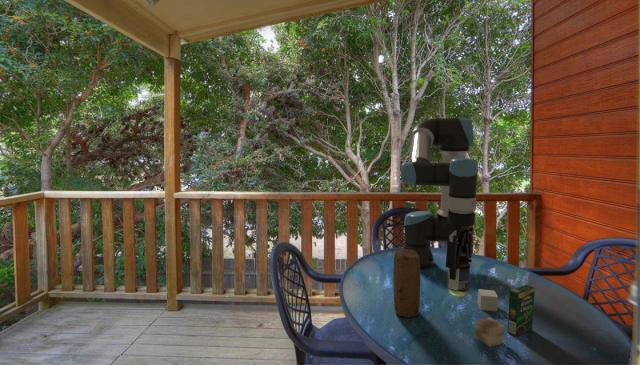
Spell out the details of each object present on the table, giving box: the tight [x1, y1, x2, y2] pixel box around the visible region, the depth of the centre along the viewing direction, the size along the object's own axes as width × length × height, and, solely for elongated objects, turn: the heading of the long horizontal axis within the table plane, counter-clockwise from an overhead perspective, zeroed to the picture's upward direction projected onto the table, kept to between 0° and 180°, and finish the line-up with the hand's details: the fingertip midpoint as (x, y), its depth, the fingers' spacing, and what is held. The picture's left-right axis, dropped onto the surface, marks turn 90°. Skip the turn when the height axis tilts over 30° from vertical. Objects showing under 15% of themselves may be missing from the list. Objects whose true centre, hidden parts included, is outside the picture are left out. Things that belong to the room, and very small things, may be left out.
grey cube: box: [477, 288, 499, 312], centre depth 114 cm, size 5×5×5 cm
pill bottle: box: [447, 251, 471, 293], centre depth 104 cm, size 6×6×11 cm
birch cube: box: [474, 317, 505, 348], centre depth 95 cm, size 5×5×5 cm
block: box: [392, 248, 421, 318], centre depth 111 cm, size 11×8×20 cm
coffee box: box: [507, 284, 536, 338], centre depth 99 cm, size 8×3×13 cm, turn 118°
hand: (458, 285), depth 104 cm, fingers closed on pill bottle, 6 cm apart
